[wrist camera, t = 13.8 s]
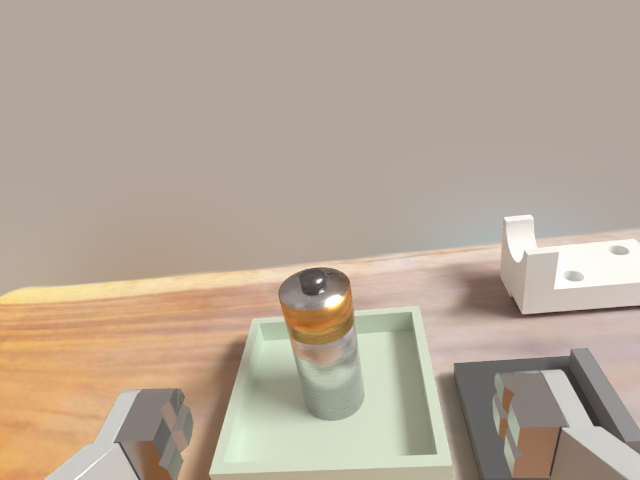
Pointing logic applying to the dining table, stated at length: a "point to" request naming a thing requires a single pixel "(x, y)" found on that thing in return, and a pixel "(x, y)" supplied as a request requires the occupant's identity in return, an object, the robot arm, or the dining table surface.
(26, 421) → the dining table surface
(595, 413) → the block
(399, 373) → the tray
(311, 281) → the battery cell
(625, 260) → the bracket
